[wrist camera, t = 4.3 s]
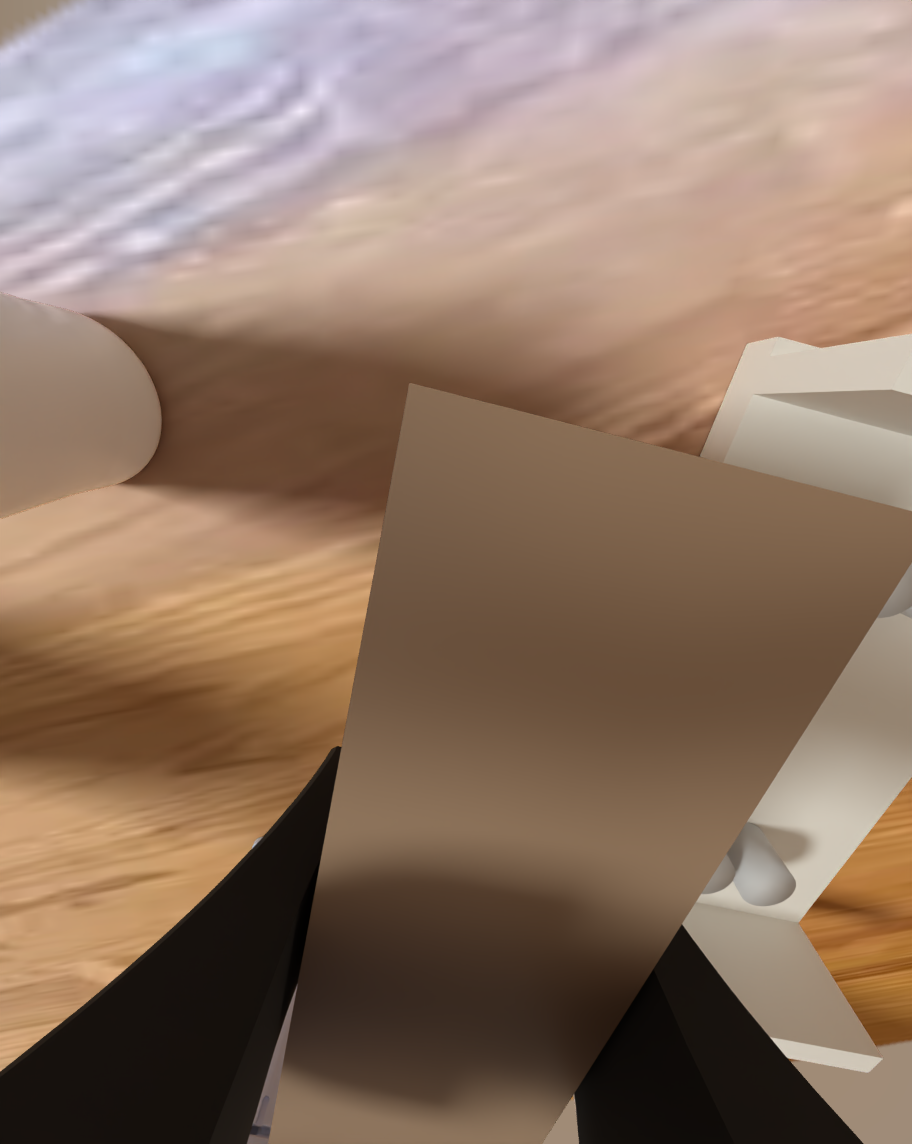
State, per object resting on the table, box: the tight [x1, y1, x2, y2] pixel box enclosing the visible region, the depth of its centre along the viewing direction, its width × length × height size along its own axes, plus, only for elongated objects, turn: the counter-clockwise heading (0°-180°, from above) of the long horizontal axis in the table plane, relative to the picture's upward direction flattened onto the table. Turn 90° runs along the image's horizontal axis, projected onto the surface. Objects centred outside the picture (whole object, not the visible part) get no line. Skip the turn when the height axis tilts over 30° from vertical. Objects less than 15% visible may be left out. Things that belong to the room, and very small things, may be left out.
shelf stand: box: [682, 334, 912, 1073], centre depth 15 cm, size 23×12×6 cm, turn 167°
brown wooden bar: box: [268, 383, 912, 1144], centre depth 9 cm, size 16×4×5 cm, turn 167°
